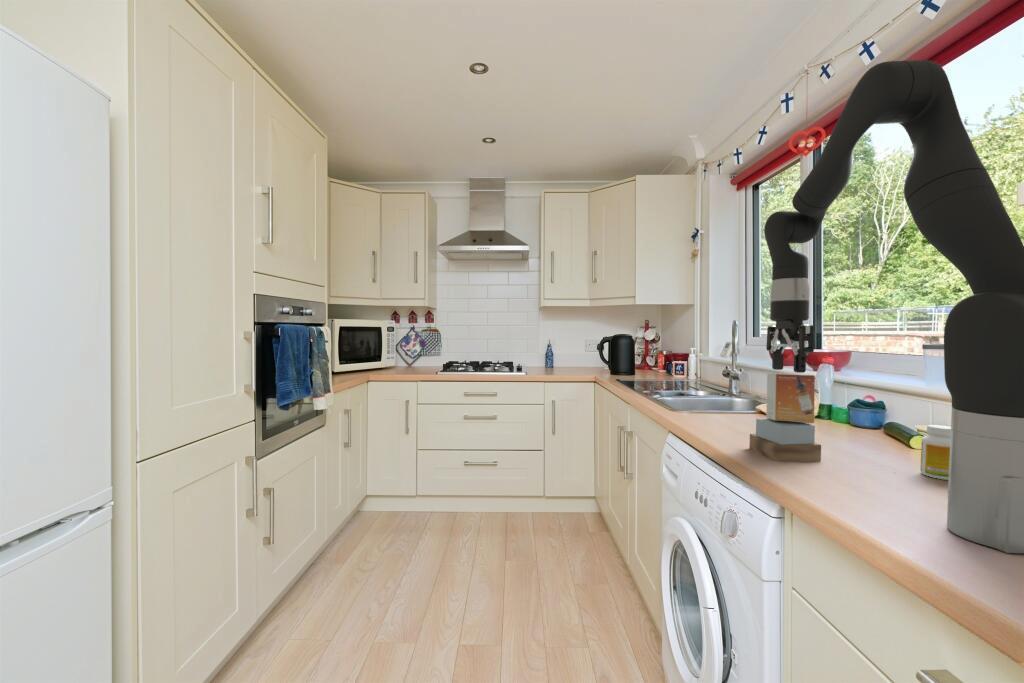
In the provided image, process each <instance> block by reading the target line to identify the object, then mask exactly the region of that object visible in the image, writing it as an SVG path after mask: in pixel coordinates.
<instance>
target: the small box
mask: <svg viewBox="0 0 1024 683" xmlns="http://www.w3.org/2000/svg"><path fill="white" fill-rule="evenodd" d="M815 383H816V381H815V375H814V374H813V375H812V374H811V375H810V374H801V373H800V374H798V373H767V374H766V413H765V414H766V415H765V416H766V417H765V419H771V420H775V421H791V422H802V423H807V424H815V387H816V386H815Z"/></svg>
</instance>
